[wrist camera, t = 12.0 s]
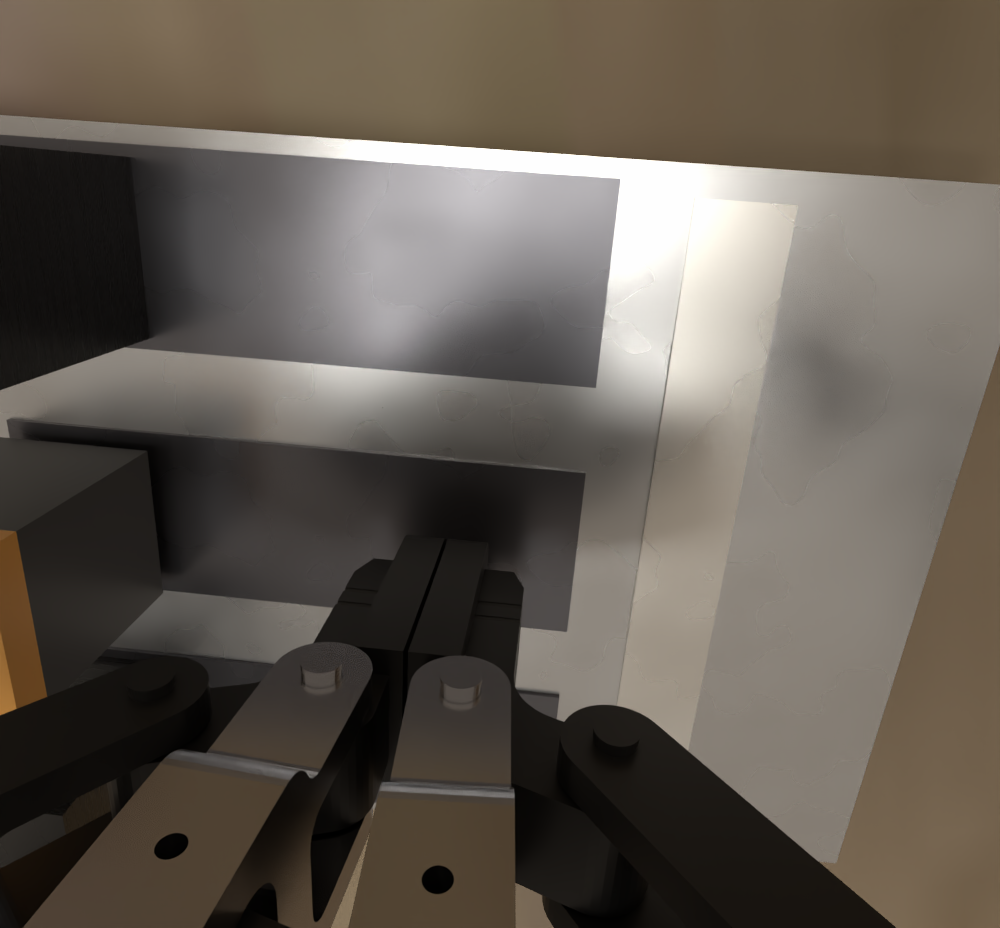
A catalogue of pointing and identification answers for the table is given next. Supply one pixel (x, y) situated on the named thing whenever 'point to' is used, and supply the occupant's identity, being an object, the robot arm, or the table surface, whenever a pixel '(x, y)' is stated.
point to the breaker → (70, 560)
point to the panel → (519, 411)
